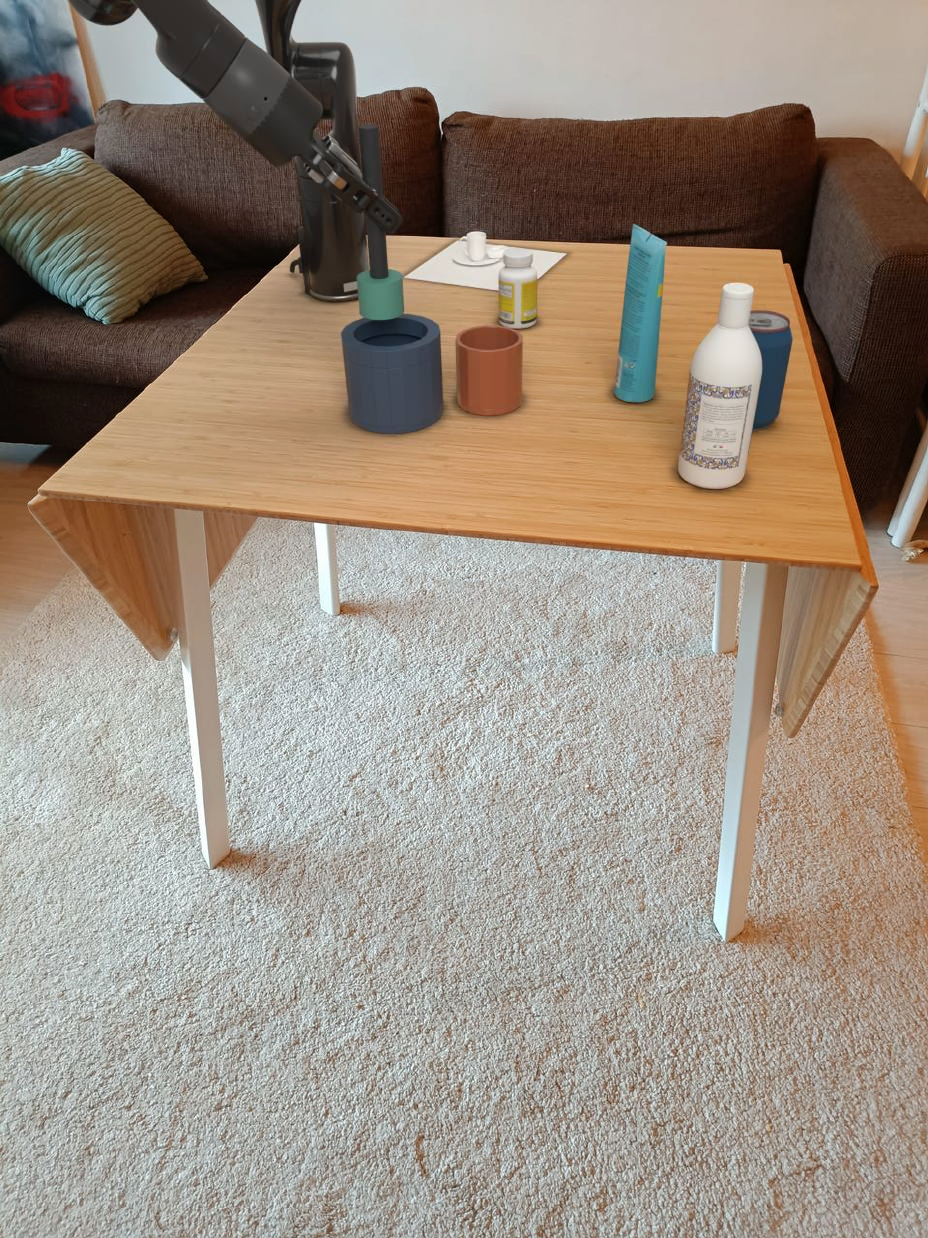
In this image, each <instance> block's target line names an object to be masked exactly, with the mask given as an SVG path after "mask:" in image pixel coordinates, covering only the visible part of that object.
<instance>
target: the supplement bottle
mask: <svg viewBox="0 0 928 1238" xmlns="http://www.w3.org/2000/svg"><path fill="white" fill-rule="evenodd" d="M529 249H530V248H524V247H523V248H522V247H516V248H512V249H508V250H506V251H504V254H503V261H504V264H505V266H504V267H503V268H501V269H500V271H499V277H498V281H499V282H498V285H499V291H498V322H499V324H500V326H504V327H509V328H512V329H514V330H519V329H528V328H531V327H533V326H534V325H536V323H537V321H538V320H537V319H538V279H537V271H536V269H535V268H534V267H533V266H531V264H532V261H533V252H532V251H531V250H529Z"/></svg>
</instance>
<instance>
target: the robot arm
mask: <svg viewBox="0 0 928 1238" xmlns="http://www.w3.org/2000/svg"><path fill="white" fill-rule="evenodd" d="M67 1H68V3H69V4H70V6H71V7H72V8H73V9H74V11H75V12H76V13H77V14H78V15H79V16H81V17H82V18H84V19H85V20H87V21H88V22H90V23H92V24H94V25H99V26H105V27H107V26H116V25H119V24H122V23H124V22H126V21H127V20H129V19H130V18H131V17H132V16H134V14H135V13H136V12H137V10H139V11H140V12H141V14H142V15H143V16H144V17H145V18H146V20H147V21H148V22H149V23H150V25H151V26H152V27H153V29H154V30H155V32H156V35H157V36H156V39H155V55H156V57H157V59H158V60H159V62H160V63H161V64H162V65H163V66H164V68H165V69H166V70H167V71H169V72H170V74H172V75H173V76H174V77H175V78H176V79H178V80H179V82H181V83H182V84H183V85H185V86H186V87H187V88H188V89H189V90H190V91H191V92H192V93H194V94H195V95H196V96H197V97H198V98H199V99H201V100H202V101H203V102H204V103H205V104H206V105H207V106H208V107H209V108H210V109H211V111H212V112H213V113H214V114H215V115H216V116H217V117H218V119H220V120H221V122H223V123H224V124H225V125H226V126H227V127H229V128H230V129H231V130H232V131H233V132H234V133H235V134H236V135H238V136H239V137H240V138H241V139H242V140H244V141H245V142H246V143H247V144H248V145H249V146H250V147H252V148H253V149H254V150H255V151H256V152H257V153H259V154H260V155H261V156H262V157H263V158H264V159H265V160H267V162H269V163H270V164H271V165H272V166H273V167H275V168H277V169H281V168H283V167H286V166H287V165H288V164H289V163H290V162H291V161H292V160H293V158H294V167H295V174H296V183H297V191H298V197H299V198H298V199H299V206H300V208H299V209H300V216H301V225H302V226H299V227H298V228H297V238H298V244H299V248H298V249H299V255H300V256H299V257H298V258H297V259H294V260H293V261H291V262H290V264H289V272H290V273H291V274H294V273H295V271H296V266H298V273H299V274H302V279H303V288H304V293H305V294H309V295H310V296H311V297H312V298H314V299H317V300H319V301H326V302H346V301H353V300H357V299H358V287H357V276H358V274H360V273H362V272H364V271H367V270H370V266H369V253H368V240H367V228H366V215H367V216H369V217H370V218H371V219H372V220H373V221H374V222H375V223H376V224H378V225H379V226H380V227H381V228H382V229H383V230H384V231H385V232H386V234H388V235H389V236H391V235H394V234H395V233H396V232H397V230H398V229H399V228H400V227H401V226H402V225H403V223H404V218H403V217H402V215H401V214H400V211H399V209H398V208H397V207H396V206H395V205H394V204H393V203H391V202H390V201H389V200H388V199H387V198H386V197H385V196H384V195H383V199H382V198H381V197H380V196H379V195H378V194H377V191H376V190H375V189H374V188H373V189H372V188H371V187H370V186H369V185H368V184H367V183H366V182H365V181H364V180H363V177H362V164H361V152H360V139H359V124H358V99H357V98H358V95H357V94H358V91H357V90H358V89H357V72H356V66H355V65H356V64H355V59H354V55H353V52H352V51H351V48H350V47H349V46H348V44H347V43H344V42H339V41H312V42H311V41H310V42H305V41H304V42H297V41H295V40H294V38H293V35H292V29H293V26H294V21H295V18H296V15H297V13H298V9H299V7H300V5H301V3H302V0H254V1H255V5H256V9H257V13H258V17H259V21H260V26H261V31H262V36H263V41H264V46H265V50H266V51H265V50H264V49H263V48H262V47H260V46H259V45H257V44H256V43H255V42H253V41H252V40H251V39H249V38H248V37H247V36H245V34H244V33H243V32H242V31H241V30H239V28H238V27H236V26H235V25H234V24H233V23H232V22H231V21H230V20H229V19H228V18H227V17H226V16H225V15H224V14H222V13H221V11H219V10H218V9H217V8H215V6H213V5H212V4H211V3H210V2H209V0H67ZM321 120H322V121H325V120H327V121H330V120H332V129H331V131H330V132H329V133H327V134H326V135H325V136H324V137H322V136H321V135H320V133H318V132H317V131H316V129H317V127H318V126H319V124H320V121H321ZM365 214H366V215H365Z"/></svg>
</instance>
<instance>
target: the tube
mask: <svg viewBox="0 0 928 1238" xmlns="http://www.w3.org/2000/svg"><path fill="white" fill-rule="evenodd" d="M667 245H668V242H667V241H665V240H663V239H662V238H659V236H656V235H654V234H652V233H650V232H649V231H647V230H646V229H644V228H642V227H640V226H638V225H636V224H635V223H633V224H632V229H631V237H630V244H629V252H628V260H627V268H626V277H625V287H624V293H623V294H624V296H623V305H622V312H621V313H622V314H621V322H620V323H621V324H620V333H619V343H618V350H617V351H618V352H617V361H616V369H615V370H616V371H615V381H614V391H613V394H614V396H615V397H616V398H617V399H619V400H621V401H623V402H628V403H644V402H648V401H650V400H652V399H653V398H654V397H655V392H656V381H657V367H658V355H659V343H660V330H661V318H662V306H663V293H664V283H665V282H664V280H665V264H666V263H665V261H666V247H667Z"/></svg>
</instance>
